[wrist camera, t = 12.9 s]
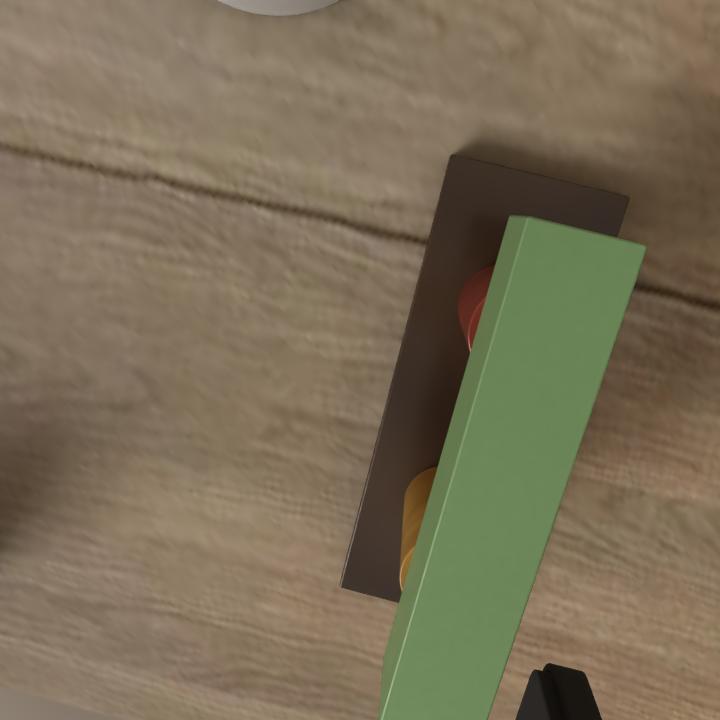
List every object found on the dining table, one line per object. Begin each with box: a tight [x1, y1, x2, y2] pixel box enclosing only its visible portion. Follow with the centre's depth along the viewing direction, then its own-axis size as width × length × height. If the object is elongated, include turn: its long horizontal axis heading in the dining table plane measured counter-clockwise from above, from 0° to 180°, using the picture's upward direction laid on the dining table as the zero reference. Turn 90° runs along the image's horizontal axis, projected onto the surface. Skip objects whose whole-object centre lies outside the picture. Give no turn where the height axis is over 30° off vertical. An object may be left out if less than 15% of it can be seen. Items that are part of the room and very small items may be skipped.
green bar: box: [378, 215, 647, 720], centre depth 23 cm, size 18×4×4 cm, turn 166°
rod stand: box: [340, 154, 629, 603], centre depth 29 cm, size 22×8×8 cm, turn 167°
